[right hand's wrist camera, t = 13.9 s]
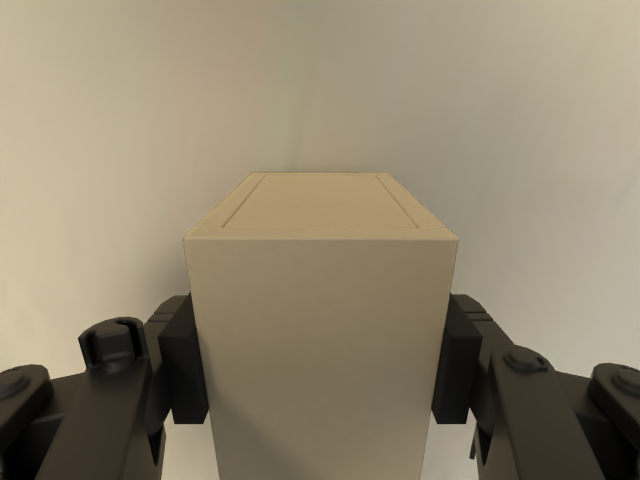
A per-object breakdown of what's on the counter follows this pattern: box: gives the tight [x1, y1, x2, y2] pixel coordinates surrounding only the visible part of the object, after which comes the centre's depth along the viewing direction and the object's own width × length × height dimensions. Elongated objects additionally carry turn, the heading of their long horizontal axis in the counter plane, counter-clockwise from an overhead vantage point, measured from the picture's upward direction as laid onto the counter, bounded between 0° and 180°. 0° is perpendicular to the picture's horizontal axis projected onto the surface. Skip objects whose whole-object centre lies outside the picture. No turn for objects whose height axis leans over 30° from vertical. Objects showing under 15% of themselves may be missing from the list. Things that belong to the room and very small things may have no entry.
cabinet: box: [183, 172, 458, 480], centre depth 14 cm, size 17×6×8 cm, turn 0°
